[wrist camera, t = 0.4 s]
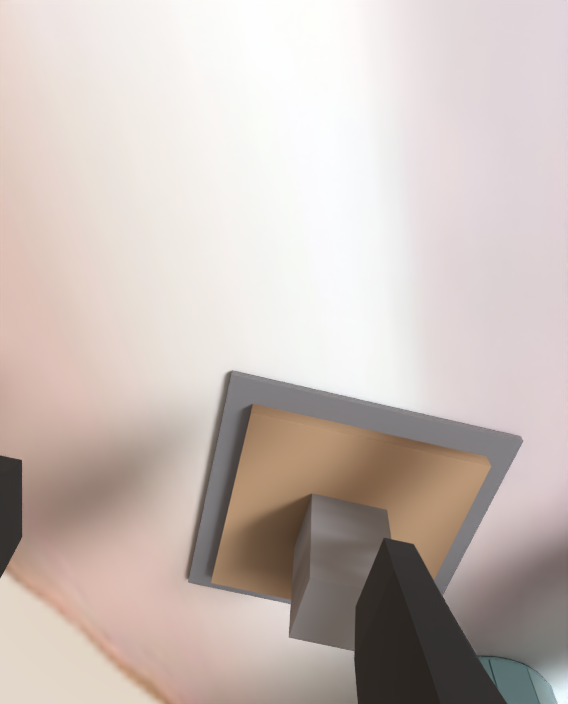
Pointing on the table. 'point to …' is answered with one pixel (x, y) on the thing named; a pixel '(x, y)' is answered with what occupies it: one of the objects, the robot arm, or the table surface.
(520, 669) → the bowl
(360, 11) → the table surface
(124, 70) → the table surface
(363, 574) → the cover
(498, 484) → the mat
